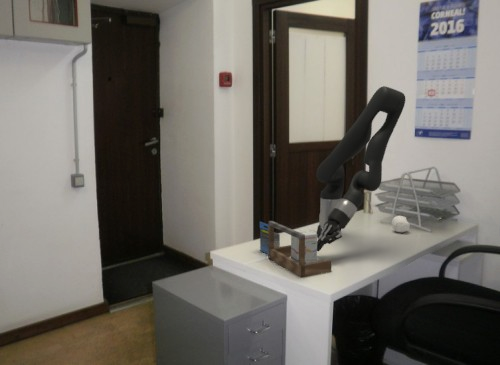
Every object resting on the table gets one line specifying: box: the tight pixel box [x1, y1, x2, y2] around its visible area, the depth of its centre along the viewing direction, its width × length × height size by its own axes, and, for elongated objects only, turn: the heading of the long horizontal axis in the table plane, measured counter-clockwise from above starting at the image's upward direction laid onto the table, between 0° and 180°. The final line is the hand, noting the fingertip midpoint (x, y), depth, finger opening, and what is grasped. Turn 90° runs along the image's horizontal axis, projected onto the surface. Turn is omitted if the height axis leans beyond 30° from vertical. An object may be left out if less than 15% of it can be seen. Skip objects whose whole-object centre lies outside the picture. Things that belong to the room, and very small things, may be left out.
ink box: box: [290, 230, 318, 264], centre depth 169 cm, size 9×5×12 cm, turn 112°
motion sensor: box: [391, 215, 411, 234], centre depth 210 cm, size 8×8×8 cm
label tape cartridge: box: [259, 221, 281, 255], centre depth 183 cm, size 9×4×12 cm, turn 33°
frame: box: [267, 220, 333, 278], centre depth 167 cm, size 23×12×15 cm, turn 26°
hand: (315, 249), depth 171 cm, fingers closed
